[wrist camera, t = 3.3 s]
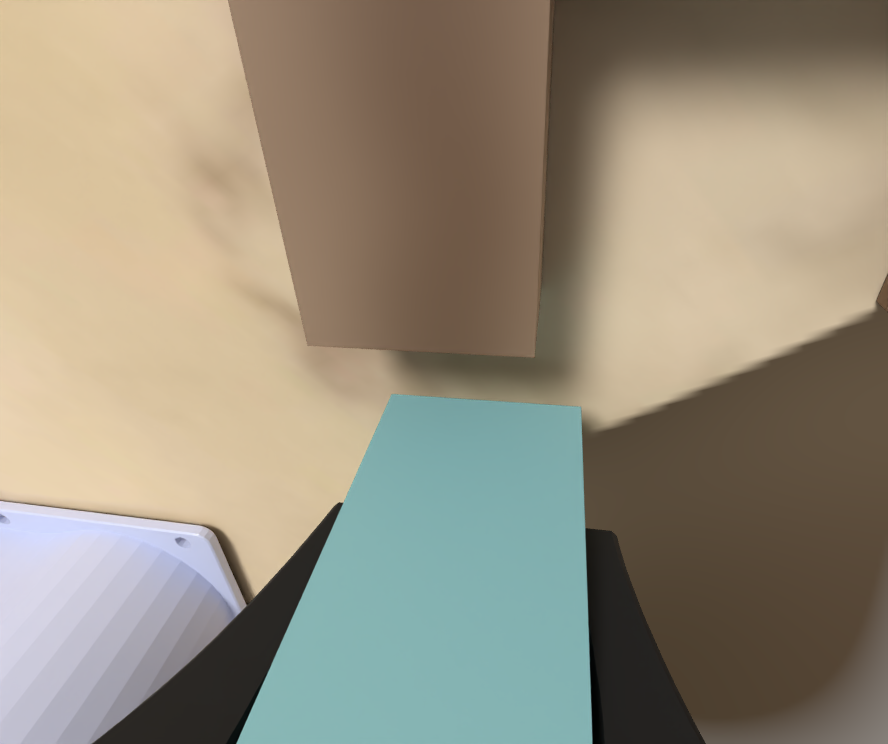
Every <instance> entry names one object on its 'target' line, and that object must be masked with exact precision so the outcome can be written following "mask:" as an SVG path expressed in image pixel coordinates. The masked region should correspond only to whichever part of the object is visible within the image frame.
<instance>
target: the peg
mask: <svg viewBox="0 0 888 744" xmlns="http://www.w3.org/2000/svg"><path fill="white" fill-rule="evenodd" d="M584 510H585V509H584V480H583V451H582V421H581V407H576V406H561V405H546V404H531V403H516V402H501V401H487V400H472V399H457V398H442V397H427V396H413V395H398V394H392V395H391V397H390V399H389V402H388V404H387V406H386V408H385V411H384V413H383V415H382V417H381V420H380V422H379V424H378V426H377V429H376V431H375V433H374V435H373V438H372V440H371V442H370V444H369V447H368V449H367V451H366V453H365V456H364V458H363V460H362V462H361V465H360V467H359V469H358V471H357V474H356V476H355V478H354V480H353V483H352V485H351V487H350V489H349V492H348V494H347V496H346V498H345V501H344V503H343V505H342V507H341V510H340V512H339V514H338V516H337V519H336V521H335V523H334V525H333V528H332V530H331V532H330V534H329V537H328V539H327V541H326V543H325V546H324V548H323V550H322V552H321V555H320V557H319V559H318V561H317V564H316V566H315V568H314V570H313V573H312V575H311V577H310V579H309V582H308V584H307V586H306V588H305V591H304V593H303V595H302V597H301V600H300V602H299V604H298V606H297V609H296V611H295V613H294V615H293V618H292V620H291V622H290V624H289V627H288V629H287V631H286V633H285V635H284V638H283V640H282V642H281V644H280V647H279V649H278V651H277V653H276V656H275V658H274V660H273V662H272V665H271V667H270V669H269V671H268V674H267V676H266V678H265V680H264V683H263V685H262V687H261V689H260V692H259V694H258V696H257V698H256V701H255V703H254V705H253V707H252V710H251V712H250V714H249V716H248V719H247V721H246V723H245V725H244V728H243V730H242V732H241V734H240V737H239V739H238V741H237V743H236V744H592V716H591V687H590V657H589V628H588V598H587V569H586V539H585V512H584Z"/></svg>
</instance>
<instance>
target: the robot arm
mask: <svg viewBox="0 0 888 744" xmlns="http://www.w3.org/2000/svg"><path fill="white" fill-rule="evenodd" d="M342 505H343V503H340V502H339V503H338V504H336V505H335V506H334V507H333V508H332V510H331V511H330V512H329V513H328V514H327V516H326V517H325V518H324V519H323V520H322V522H321V523H320V524H319V525H318V526H317V528H316V529H315V530H314V531H313V532H312V534H311V535H310V536H309V537H308V538H307V539H306V541H305V542H304V543H303V544H302V545H301V547H300V548H299V549H298V550H297V551H296V552H295V553H294V555H293V556H292V557H291V558H290V559H289V560H288V562H287V563H286V564H285V565H284V566H283V567H282V568H281V569H280V570H279V571H278V573H277V574H276V575H275V576H274V577H273V578H272V579H271V580H270V581H269V582H268V584H267V585H266V586H265V587H264V588H263V589H262V590H261V591H260V592H259V593H258V595H257V596H256V597H255V598H254V599H253V600H252V601H251V602H250V603H249V604H248V605H246V603H245V601H244V598H243V596H242V594H241V592H240V589H239V587H238V585H237V583H236V580H235V578H234V576H233V574H232V571H231V569H230V567H229V564H228V562H227V560H226V558H225V555H224V553H223V551H222V549H221V546H220V544H219V542H218V540H217V537H216V535H215V534H214V533H213V532H212V531H211V530H210V529H208V528H206V527H204V526H200V525H192V524H184V523H176V522H168V521H159V520H151V519H143V518H135V517H127V516H119V515H111V514H102V513H94V512H86V511H78V510H70V509H62V508H54V507H45V506H37V505H29V504H21V503H13V502H5V501H0V744H236V743H237V741H238V739H239V737H240V734H241V732H242V730H243V728H244V725H245V723H246V721H247V719H248V716H249V714H250V712H251V710H252V707H253V705H254V703H255V701H256V698H257V696H258V694H259V692H260V689H261V687H262V685H263V683H264V680H265V678H266V676H267V674H268V671H269V669H270V667H271V665H272V662H273V660H274V658H275V656H276V653H277V651H278V649H279V647H280V644H281V642H282V640H283V638H284V635H285V633H286V631H287V629H288V627H289V624H290V622H291V620H292V618H293V615H294V613H295V611H296V609H297V606H298V604H299V602H300V600H301V597H302V595H303V593H304V591H305V588H306V586H307V584H308V582H309V579H310V577H311V575H312V573H313V570H314V568H315V566H316V564H317V561H318V559H319V557H320V555H321V552H322V550H323V548H324V546H325V543H326V541H327V539H328V537H329V534H330V532H331V530H332V528H333V525H334V523H335V521H336V519H337V516H338V514H339V512H340V510H341V507H342ZM585 539H586V569H587V598H588V628H589V657H590V687H591V716H592V744H706V743H705V742H704V740H703V738H702V736H701V734H700V732H699V730H698V729H697V727H696V725H695V723H694V722H693V719H692V717H691V715H690V713H689V711H688V709H687V707H686V705H685V703H684V701H683V699H682V697H681V695H680V693H679V692H678V689H677V687H676V686H675V684H674V681H673V679H672V677H671V675H670V673H669V671H668V669H667V667H666V664H665V662H664V660H663V658H662V656H661V653H660V651H659V649H658V647H657V644H656V642H655V640H654V638H653V635H652V633H651V631H650V629H649V627H648V624H647V622H646V619H645V617H644V615H643V612H642V610H641V607H640V605H639V602H638V599H637V597H636V594H635V592H634V589H633V586H632V584H631V581H630V578H629V575H628V572H627V570H626V567H625V563H624V560H623V557H622V554H621V551H620V547H619V543H618V539H617V536H616V535H615V534H614V533H613V532H612V531H606V530H595V529H587V528H585Z"/></svg>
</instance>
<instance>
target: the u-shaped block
mask: <svg viewBox="0 0 888 744" xmlns="http://www.w3.org/2000/svg"><path fill="white" fill-rule="evenodd" d="M554 2H555V0H228V3H229V7H230V11H231V16H232V20H233V24H234V29H235V33H236V37H237V42H238V46H239V50H240V55H241V59H242V63H243V68H244V72H245V76H246V81H247V85H248V89H249V94H250V98H251V102H252V107H253V111H254V115H255V120H256V124H257V128H258V133H259V137H260V141H261V146H262V150H263V154H264V159H265V163H266V167H267V172H268V176H269V180H270V185H271V189H272V193H273V198H274V202H275V206H276V211H277V215H278V219H279V224H280V228H281V232H282V237H283V241H284V245H285V250H286V254H287V258H288V263H289V267H290V271H291V276H292V280H293V284H294V289H295V293H296V297H297V302H298V306H299V311H300V315H301V319H302V324H303V328H304V332H305V337H306V341H307V345H308V346H322V347H341V348H360V349H379V350H398V351H417V352H437V353H456V354H475V355H494V356H513V357H532V358H535V348H536V338H537V327H538V317H539V306H540V296H541V279H542V258H543V236H544V215H545V194H546V173H547V151H548V130H549V109H550V87H551V66H552V45H553V24H554ZM877 302H878V303H879V304H880V305H881V306H882V307H883V308H884V309H885V310H886V311H887V312H888V275H887V278H886V280H885V282H884V285H883V287H882V289H881V292H880V294H879V296H878V299H877Z"/></svg>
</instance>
